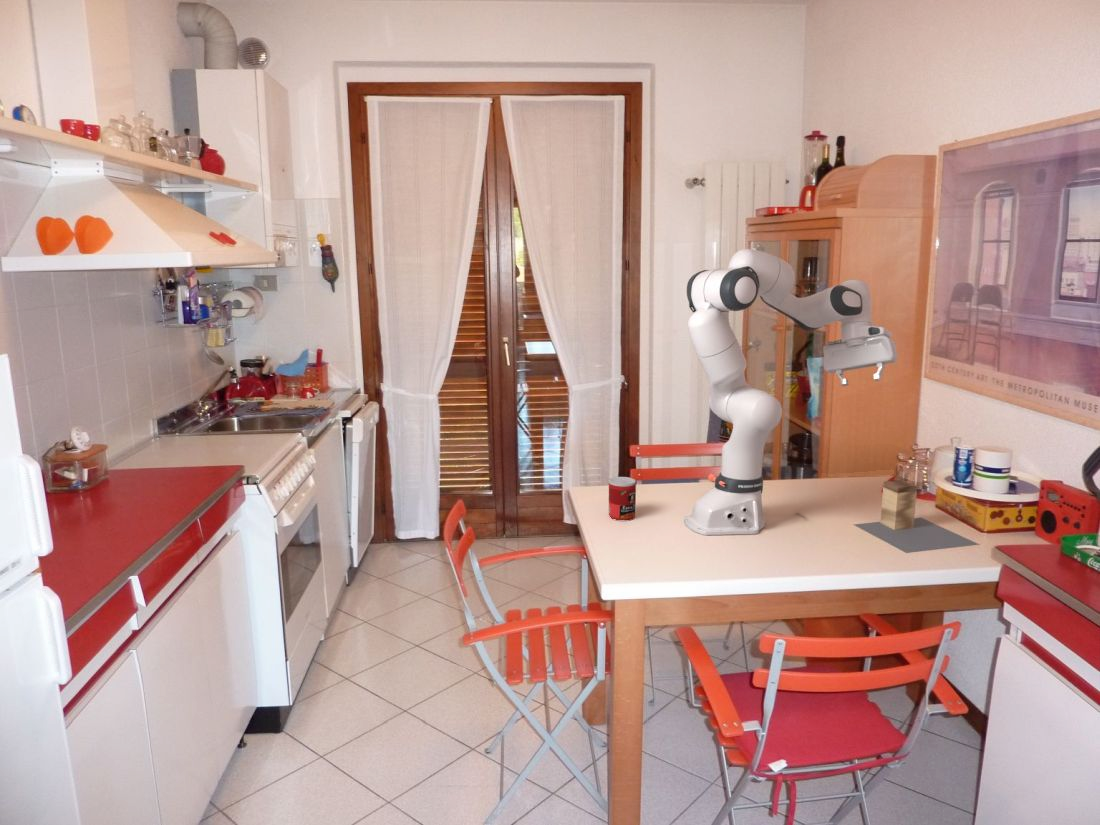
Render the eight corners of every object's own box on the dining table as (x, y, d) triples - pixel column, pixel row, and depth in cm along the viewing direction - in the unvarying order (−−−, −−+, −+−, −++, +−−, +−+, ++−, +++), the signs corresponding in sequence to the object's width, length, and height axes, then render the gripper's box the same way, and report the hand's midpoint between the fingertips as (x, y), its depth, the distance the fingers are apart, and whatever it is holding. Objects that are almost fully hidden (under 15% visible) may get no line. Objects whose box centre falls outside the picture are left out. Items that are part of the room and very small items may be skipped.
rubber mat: (906, 555, 202) (906, 552, 202) (852, 526, 223) (853, 524, 222) (979, 546, 207) (979, 544, 207) (920, 519, 228) (920, 517, 228)
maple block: (894, 530, 218) (898, 487, 215) (880, 523, 223) (883, 481, 221) (913, 528, 219) (917, 486, 217) (898, 521, 225) (902, 480, 222)
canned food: (622, 523, 226) (623, 485, 224) (602, 516, 232) (603, 480, 230) (641, 517, 231) (641, 480, 229) (621, 510, 237) (621, 475, 235)
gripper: (818, 340, 235) (821, 386, 232) (889, 326, 221) (893, 374, 218) (827, 345, 239) (830, 390, 236) (897, 331, 226) (901, 379, 223)
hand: (861, 382), depth 227 cm, fingers open, 8 cm apart
